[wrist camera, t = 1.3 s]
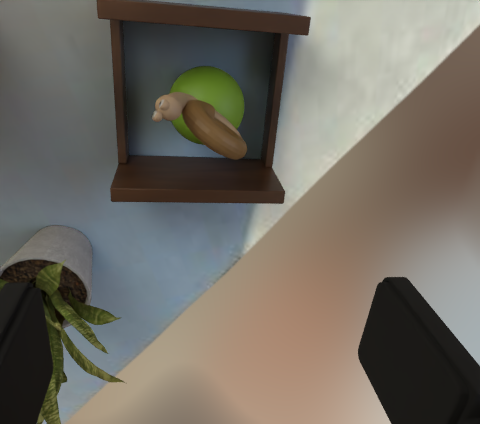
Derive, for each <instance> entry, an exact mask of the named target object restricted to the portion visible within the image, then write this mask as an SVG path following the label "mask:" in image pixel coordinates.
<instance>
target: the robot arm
mask: <svg viewBox="0 0 480 424" xmlns="http://www.w3.org/2000/svg"><path fill="white" fill-rule="evenodd" d="M358 356H359V360H360V363H361V364H362V367H363V368H364V370H365V372H366V374H367V376H368V378H369V380H370V382H371V384H372V386H373V388H374V390H375V392H376V394H377V396H378V398H379V400H380V402H381V404H382V406H383V408H384V410H385V412H386V414H387V416H388V418H389V420H390V422H391V424H480V366H479V365H478V363H477V362H476V361H475V360H474V359H473V357H472V356H471V355H470V354H469V353H468V351H467V350H466V349H465V348H464V346H463V345H462V344H461V343H460V342H459V341H458V339H457V338H456V337H455V336H454V334H453V333H452V332H451V331H450V329H449V328H448V327H447V326H446V325H445V323H444V322H443V321H442V320H441V319H440V317H439V316H438V315H437V314H436V313H435V311H434V310H433V309H432V308H431V306H430V305H429V304H428V303H427V302H426V300H425V299H424V298H423V297H422V296H421V294H420V293H419V292H418V291H417V290H416V288H415V287H414V286H413V285H412V283H411V282H410V281H409V280H408V279H407V278H405V277H387V278H385V279H384V280H383V281H382V282H380V283H379V284H378V285H377V288H376V291H375V295H374V298H373V301H372V305H371V308H370V311H369V315H368V318H367V322H366V325H365V328H364V332H363V335H362V338H361V341H360V345H359V349H358ZM52 374H53V358H52V352H51V346H50V341H49V335H48V329H47V323H46V317H45V311H44V306H43V300H42V294H41V290H40V288H34V287H33V284H32V283H30V282H26V283H6V284H5V285H4V286H3V288H2V289H1V291H0V424H37V420H38V417H39V414H40V411H41V408H42V405H43V402H44V399H45V396H46V393H47V390H48V387H49V384H50V381H51V378H52Z"/></svg>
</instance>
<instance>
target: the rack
mask: <svg viewBox="0 0 480 424" xmlns="http://www.w3.org/2000/svg"><path fill="white" fill-rule="evenodd" d="M97 11H98V18H99V19H110V28H111V45H112V62H113V78H114V95H115V112H116V129H117V146H118V163H119V164H118V167H117V170H116V173H115V176H114V179H113V182H112V185H111V188H110V192H111V201H112V202H190V203H276V204H283V203H284V196H285V190H284V189H283V187H282V185H281V183H280V181H279V180H278V178H277V176H276V174H275V172H274V171H273V169H272V164H273V156H274V149H275V141H276V133H277V125H278V117H279V109H280V101H281V93H282V85H283V78H284V70H285V62H286V54H287V46H288V38H289V34H295V35H308V33H309V26H310V20H311V17H307V16H301V15H295V14H289V13H281V12H270V11H259V10H248V9H236V8H225V7H214V6H203V5H192V4H181V3H170V2H158V1H147V0H97ZM123 21H134V22H147V23H159V24H171V25H184V26H196V27H208V28H221V29H233V30H245V31H258V32H270V33H275V35H274V44H273V53H272V62H271V71H270V80H269V89H268V98H267V107H266V116H265V125H264V134H263V143H262V152H261V159H238V160H234V159H229V158H207V157H173V156H139V155H129V142H128V120H127V99H126V77H125V55H124V34H123Z"/></svg>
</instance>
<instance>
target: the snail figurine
mask: <svg viewBox="0 0 480 424" xmlns="http://www.w3.org/2000/svg"><path fill="white" fill-rule="evenodd" d="M155 108H156V111H154V112H153V114H152V119H153V120H154V121H155V122H159V121H161V120H162V118H163V119H165V120H169V121H172V124H173V125H174V127H175V128H176V130H177V131H178V132H179V133H180V134H181V135H182V136H183V137H185V138H186V139H188V140H189V141H191V142H194V143H197V144H202V145H206V146H207V147H208V148H210V149H211V150H213V151H214V152H216V153H218V154H220V155H223V156H225V157H227V158H229V159H234V160H238V159H241V158H243V157H244V156H245V154H246V152H247V145H246V143H245V141H244V140H243V139H242V137H241V135H240V134H239V132H238V131H237V129H238V127H239V125H240V123H241V121H242V118H243V114H244V98H243V94H242V91H241V89H240V87H239V85H238V84H237V82H236V81H235V80H234V79H233V77H231V76H230V75H229V74H228V73H226V72H225V71H223V70H221V69H219V68H216V67H211V66H199V67H195V68H192V69H190V70H188V71H186V72H184V73H183V74H182V75H181V76H180V77H179V78H178V79H177V80H176V81H175V82H174V84H173V86H172V88H171V90H170V93H169V94H168V95H163V96H161V97H160V98H159V99H158V100H157V101H156V104H155Z"/></svg>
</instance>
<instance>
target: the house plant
mask: <svg viewBox="0 0 480 424" xmlns="http://www.w3.org/2000/svg"><path fill="white" fill-rule="evenodd" d="M26 282H30V283H32V284H33V287H34V288H40V290H41V294H42V300H43V306H44V311H45V317H46V323H47V329H48V335H49V341H50V346H51V352H52V358H53V374H52V378H51V381H50V384H49V387H48V390H47V393H46V396H45V399H44V402H43V405H42V408H41V411H40V414H39V417H38V421H37V424H42V422H43V420H44V419H45V421H46V422H47V424H61V422H60V418H59V410H58V403H57V394H58V392H59V390H60V386H61V383H64V382H67V377H66V375H65V373H64V371H63V361H64V358H63V346H62V342H61V339H62V341H63V343H64V346H65V347H66V349H67V351H68V352H69V354H70V355H71V357H72V358H73V359H74V360H75V362H76V363H77V364H78V365H79V366H80V367H81V368H82V369H83V370H84V371H86V372H87V373H89V374H91V375H94V376H97V377H99V378H101V379H103V380H106V381H109V382H123V381H122V380H120V379H118V378H116V377H113V376H111V375H109V374H108V373H106V372H104V371H103V370H101V369H100V368H98V367H97V366H95V365H94V364H93V363H92V362H90V361H89V360H88V359H87V358H86V357H85V356H84V355H83V354H82V353H81V352H80V351H79V350H78V349H77V348H76V346H75V345H74V344H73V342H72V341H71V340H70V338H69V337H68V335H67V334H66V332H65V330H64V329H63V328H66V327H68V326H70V325H72V326H74V327H75V328H76V329H77V330H78V331H79V332H80V333H81V334H82V335H83V336H84V337H85V338H86V339H87V340H88V341H89V342H90V343H91V344H92V345H94V346H95V347H96V348H98V349H100V350H102V351H103V352H105V353H107V351H106V349H105V347H104V346H103V345H102V344H101V343H100V342H99V341H98V340H97V338H96V336H95V334H94V332H93V331H92V329H91V327H90V326H89V325H88V324H87V323H86V322H85V321H84V320H86V321H87V322H89V323H92V324H94V325H102V324H106V323H110V322H112V321H115V320H117V319H120V318H116V317H115V316H113V315H112V314H111V313H109V312H107V311H105V310H103V309H100V308H97V307H93V306H90V302H91V288H92V246H91V244H90V241H89V240H88V239H87V237H86V236H85V235H84V234H82V233H81V232H80V231H78V230H76V229H73V228H70V227H66V226H59V225H53V226H48V227H45V228H43V229H41V230H39V231H38V232H37V233H36V234H35V235H34V236H33V237H32V238H31V239H30V240H29V241H28V242H27V243H26V244H25V245H23V246H22V247H21V248H20V249H19V250H18V251H17V252H16V253H15V254H14V255H13V256H12V257H11V258H10V259H9V260H8V261H7V262H6V263H5V264H4V265H3V266H2V267H1V268H0V291H1V289H2V288H3V286H4V285H5V284H6V283H26ZM82 318H83V319H84V320H83V319H82ZM60 337H61V338H60ZM108 354H109V353H108Z"/></svg>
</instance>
